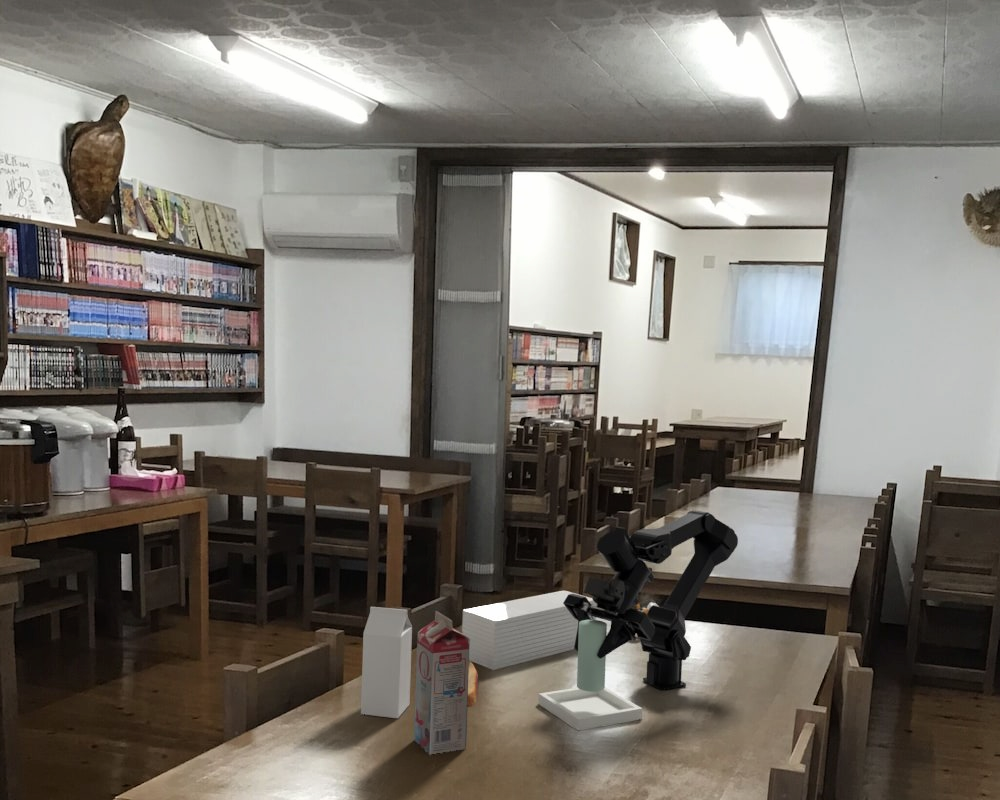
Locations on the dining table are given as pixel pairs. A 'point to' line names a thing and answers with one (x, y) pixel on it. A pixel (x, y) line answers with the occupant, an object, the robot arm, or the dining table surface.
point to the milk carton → (386, 663)
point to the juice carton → (441, 687)
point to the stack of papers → (520, 630)
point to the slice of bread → (472, 685)
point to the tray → (589, 707)
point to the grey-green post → (591, 655)
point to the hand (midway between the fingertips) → (587, 653)
